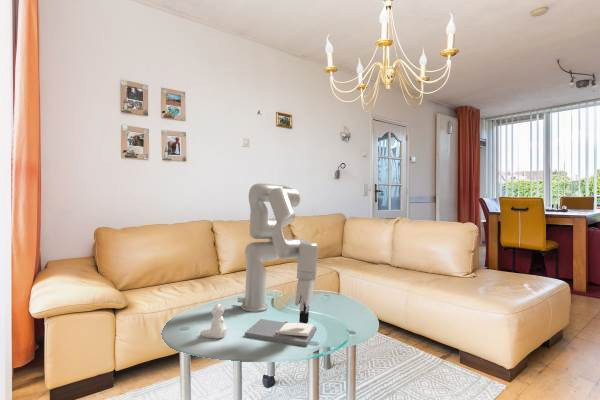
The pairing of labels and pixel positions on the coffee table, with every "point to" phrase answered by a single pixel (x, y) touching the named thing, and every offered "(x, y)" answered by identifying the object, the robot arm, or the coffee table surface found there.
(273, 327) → the board
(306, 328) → the tile
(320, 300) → the coffee table surface
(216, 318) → the sitting furry creature
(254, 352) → the coffee table surface
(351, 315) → the coffee table surface
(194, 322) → the coffee table surface
